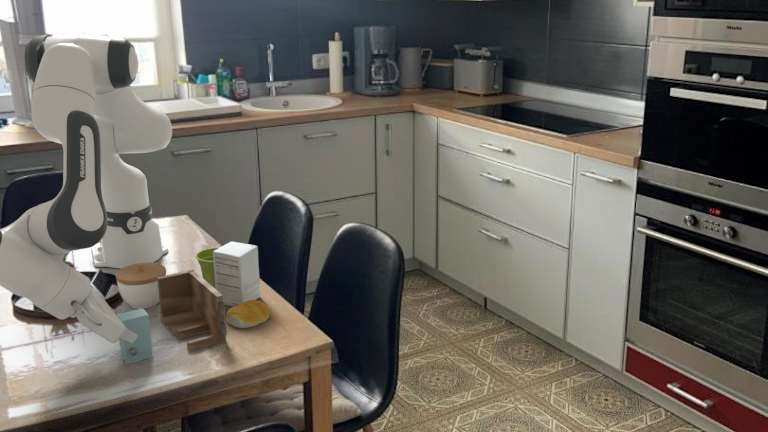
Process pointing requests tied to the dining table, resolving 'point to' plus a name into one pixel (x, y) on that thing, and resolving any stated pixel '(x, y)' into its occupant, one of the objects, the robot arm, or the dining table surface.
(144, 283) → the lidded jar
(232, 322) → the bread roll
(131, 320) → the pale teal box
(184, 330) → the carcass
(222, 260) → the supplement box
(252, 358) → the dining table surface
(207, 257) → the plant pot
